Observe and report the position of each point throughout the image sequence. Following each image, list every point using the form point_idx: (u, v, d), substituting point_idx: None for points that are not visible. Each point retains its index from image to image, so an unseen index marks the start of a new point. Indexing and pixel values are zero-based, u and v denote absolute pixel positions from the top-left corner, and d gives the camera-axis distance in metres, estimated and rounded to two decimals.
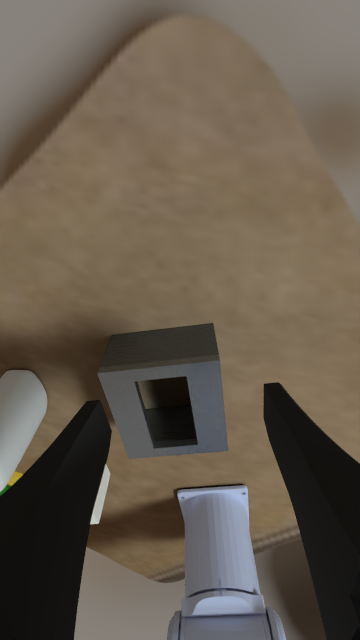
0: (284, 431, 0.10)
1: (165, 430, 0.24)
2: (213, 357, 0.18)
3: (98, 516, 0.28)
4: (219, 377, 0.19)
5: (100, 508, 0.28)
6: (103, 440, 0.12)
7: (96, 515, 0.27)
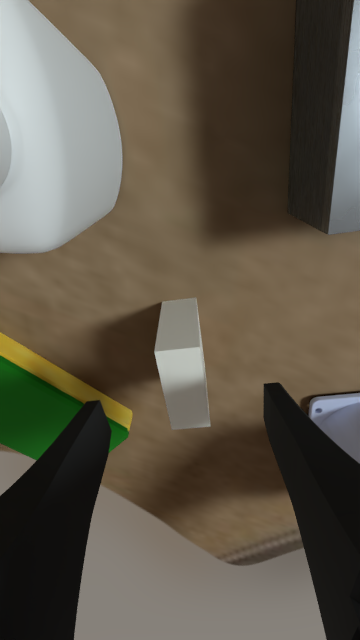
0: (284, 431, 0.10)
1: None
2: None
3: None
4: None
5: None
6: (103, 440, 0.12)
7: None
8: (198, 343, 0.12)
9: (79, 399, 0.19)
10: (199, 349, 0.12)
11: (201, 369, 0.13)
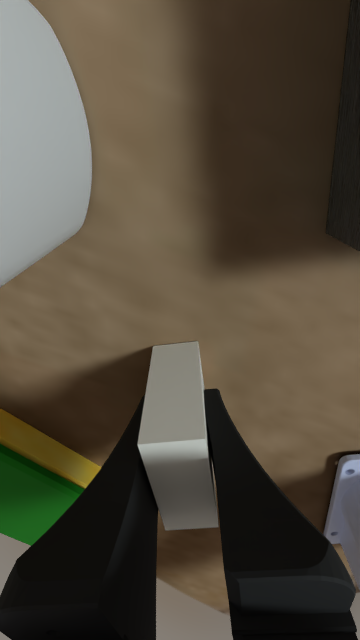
0: (210, 437, 0.10)
1: None
2: None
3: (216, 507, 0.11)
4: None
5: (214, 488, 0.11)
6: None
7: (215, 504, 0.10)
8: (203, 431, 0.08)
9: (52, 469, 0.15)
10: (204, 441, 0.08)
11: (207, 465, 0.09)
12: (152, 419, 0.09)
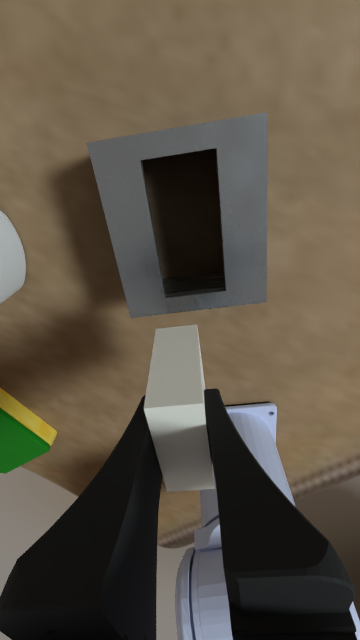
0: (209, 437, 0.10)
1: (179, 290, 0.18)
2: (256, 115, 0.13)
3: None
4: (264, 150, 0.13)
5: None
6: None
7: (212, 467, 0.12)
8: (200, 397, 0.10)
9: (17, 419, 0.26)
10: (202, 406, 0.09)
11: (204, 428, 0.10)
12: (156, 388, 0.10)
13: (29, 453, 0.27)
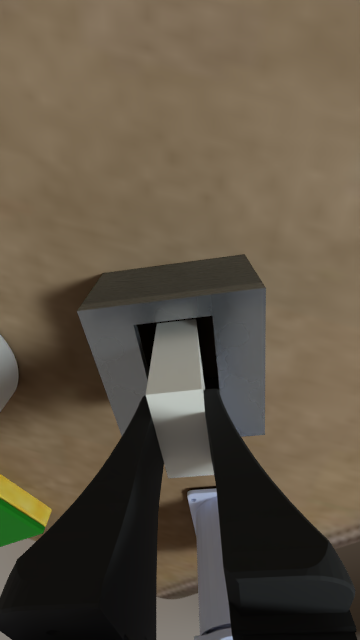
0: (209, 437, 0.10)
1: None
2: (254, 285, 0.12)
3: None
4: (262, 317, 0.12)
5: None
6: None
7: None
8: (199, 384, 0.10)
9: (14, 505, 0.26)
10: (200, 392, 0.10)
11: (203, 414, 0.11)
12: (157, 377, 0.11)
13: (23, 534, 0.27)
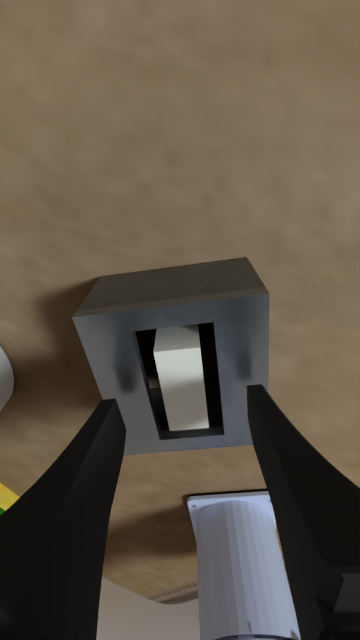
0: (263, 433, 0.10)
1: None
2: (257, 290, 0.12)
3: None
4: (266, 324, 0.12)
5: (206, 404, 0.15)
6: (119, 439, 0.12)
7: (206, 409, 0.14)
8: (198, 344, 0.12)
9: None
10: (199, 350, 0.12)
11: (201, 370, 0.13)
12: (163, 339, 0.13)
13: None
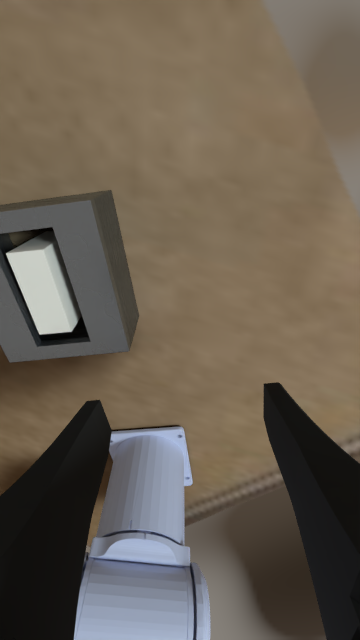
0: (284, 431, 0.10)
1: (62, 334, 0.20)
2: (85, 199, 0.14)
3: (72, 321, 0.17)
4: (95, 229, 0.14)
5: (75, 315, 0.18)
6: (103, 440, 0.12)
7: (67, 314, 0.17)
8: (44, 248, 0.15)
9: None
10: (43, 252, 0.15)
11: (49, 272, 0.15)
12: (20, 247, 0.16)
13: None
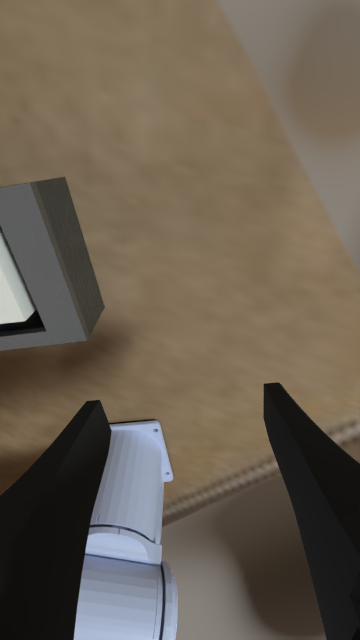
0: (284, 431, 0.10)
1: (23, 326, 0.20)
2: (26, 183, 0.14)
3: (26, 311, 0.17)
4: (38, 214, 0.14)
5: (30, 305, 0.18)
6: (103, 440, 0.12)
7: (19, 303, 0.17)
8: None
9: None
10: None
11: None
12: None
13: None
